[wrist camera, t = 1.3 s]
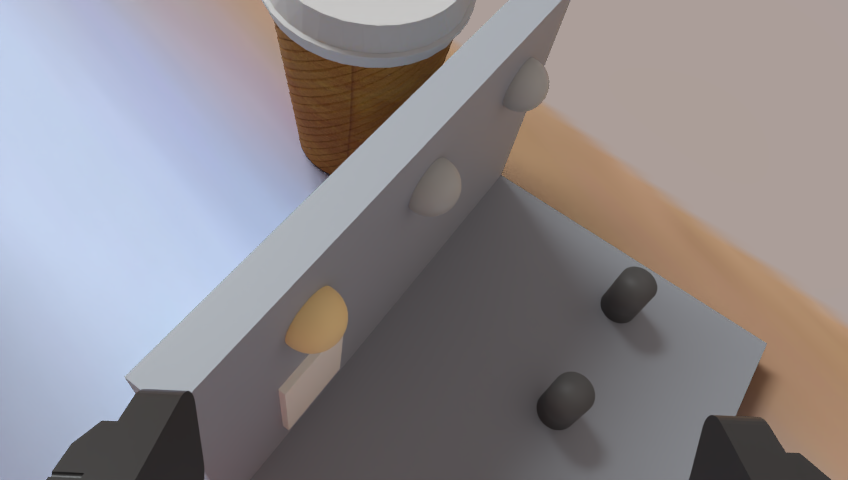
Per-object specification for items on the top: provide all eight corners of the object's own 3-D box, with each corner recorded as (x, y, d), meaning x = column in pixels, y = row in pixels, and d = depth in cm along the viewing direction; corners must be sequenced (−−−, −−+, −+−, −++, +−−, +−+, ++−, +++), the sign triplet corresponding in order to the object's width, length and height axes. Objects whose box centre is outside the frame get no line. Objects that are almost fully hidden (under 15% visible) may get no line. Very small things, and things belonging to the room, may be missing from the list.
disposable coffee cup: (335, 50, 42) (342, -142, 32) (467, 125, 41) (520, -52, 30) (233, 147, 37) (203, -42, 27) (378, 236, 36) (405, 72, 26)
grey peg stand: (202, 491, 28) (124, 376, 17) (472, 176, 39) (543, -35, 27) (558, 784, 25) (781, 905, 13) (750, 354, 35) (973, 203, 23)
